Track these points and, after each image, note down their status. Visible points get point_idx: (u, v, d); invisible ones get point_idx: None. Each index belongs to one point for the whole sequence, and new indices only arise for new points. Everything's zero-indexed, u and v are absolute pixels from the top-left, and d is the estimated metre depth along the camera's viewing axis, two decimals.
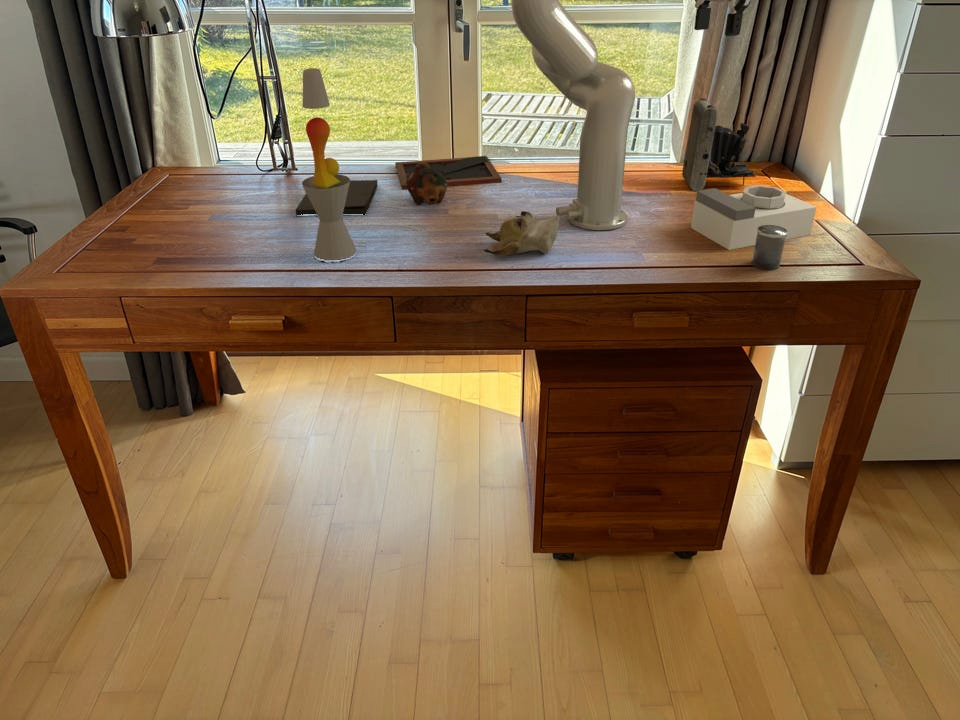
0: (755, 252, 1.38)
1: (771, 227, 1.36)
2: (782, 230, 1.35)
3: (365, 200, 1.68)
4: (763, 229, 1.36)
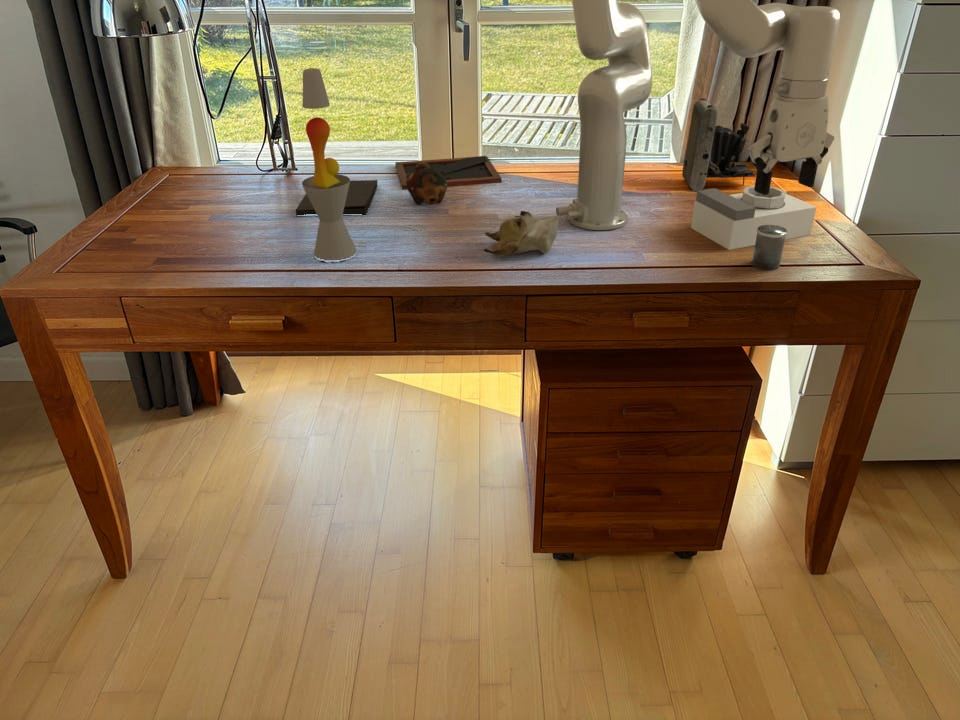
0: (755, 252, 1.38)
1: (771, 227, 1.36)
2: (782, 230, 1.35)
3: (365, 200, 1.68)
4: (762, 229, 1.36)
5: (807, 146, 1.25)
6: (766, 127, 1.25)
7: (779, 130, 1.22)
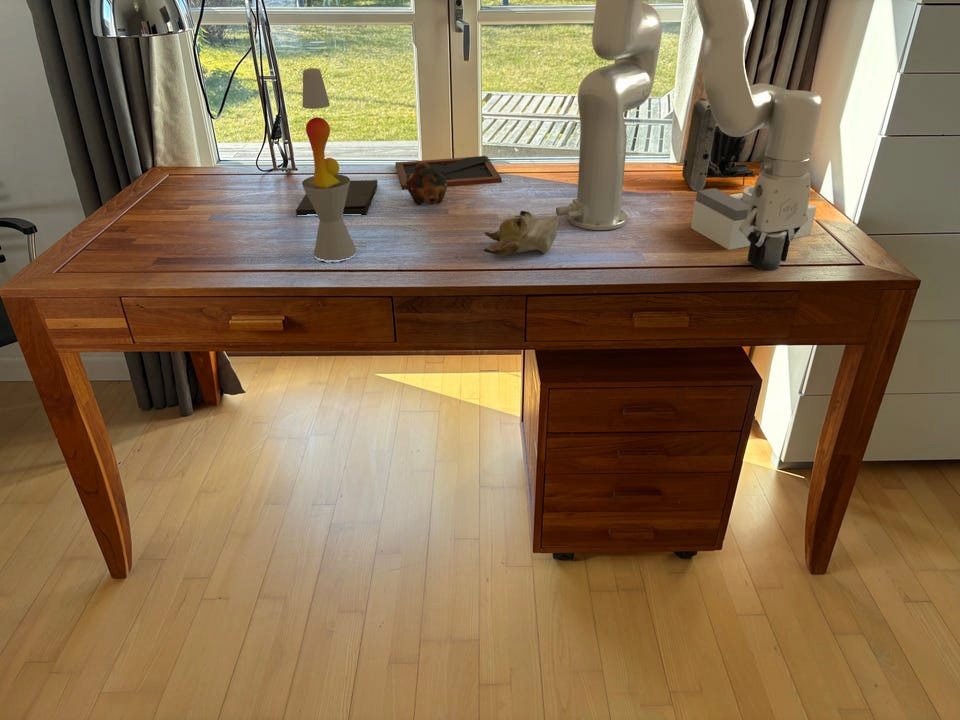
0: None
1: None
2: None
3: (365, 200, 1.68)
4: None
5: (790, 219, 1.32)
6: (751, 200, 1.32)
7: (763, 204, 1.29)
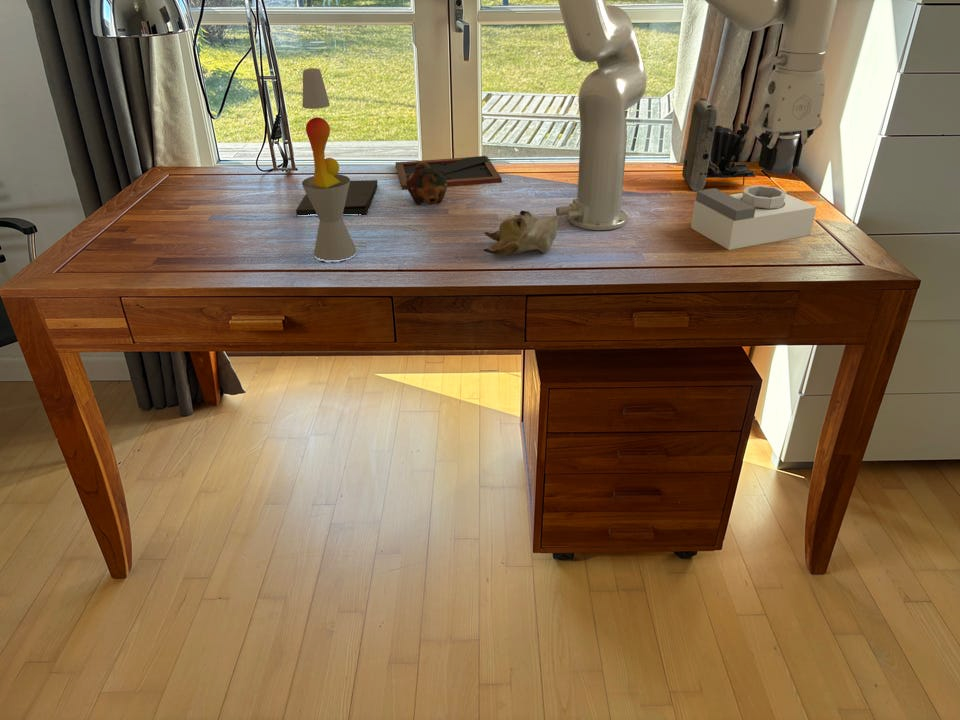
0: None
1: None
2: (795, 132, 1.32)
3: (365, 200, 1.68)
4: None
5: (803, 118, 1.29)
6: (764, 99, 1.29)
7: (776, 101, 1.26)
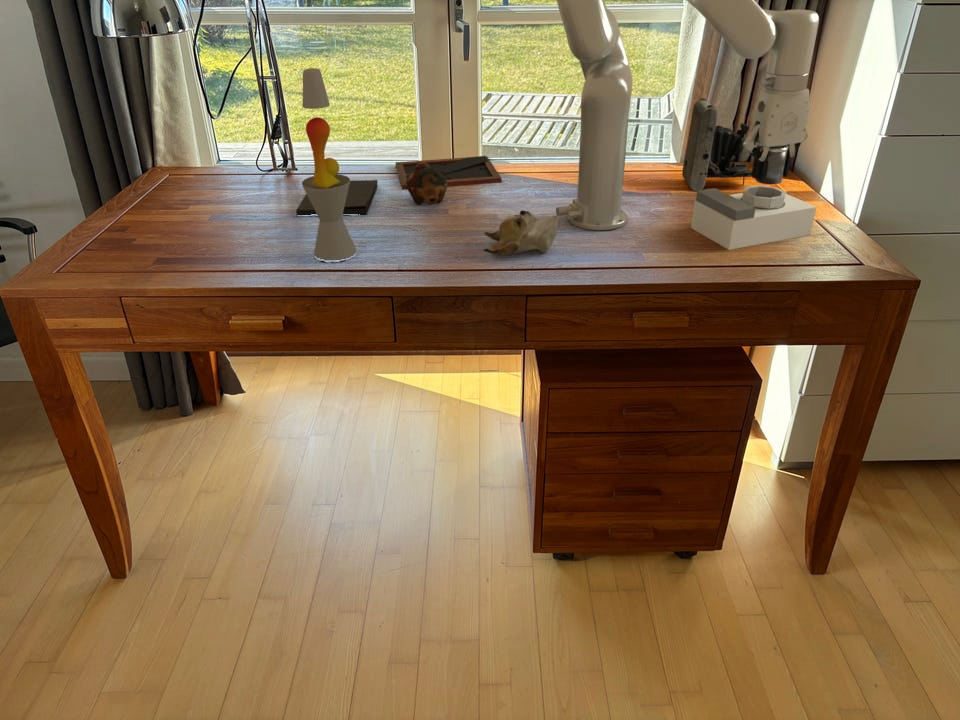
0: None
1: None
2: (783, 145, 1.44)
3: (366, 200, 1.68)
4: None
5: (790, 133, 1.41)
6: (754, 116, 1.41)
7: (765, 119, 1.39)
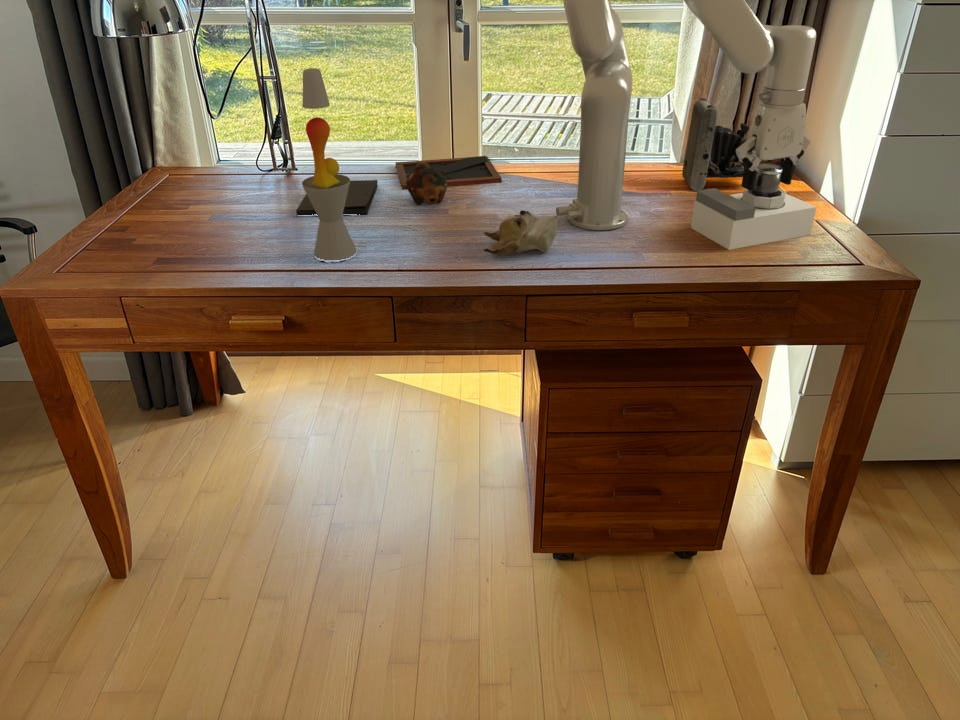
0: None
1: (768, 165, 1.48)
2: (778, 168, 1.47)
3: (366, 200, 1.68)
4: (760, 167, 1.47)
5: (787, 147, 1.43)
6: (751, 130, 1.43)
7: (762, 133, 1.40)
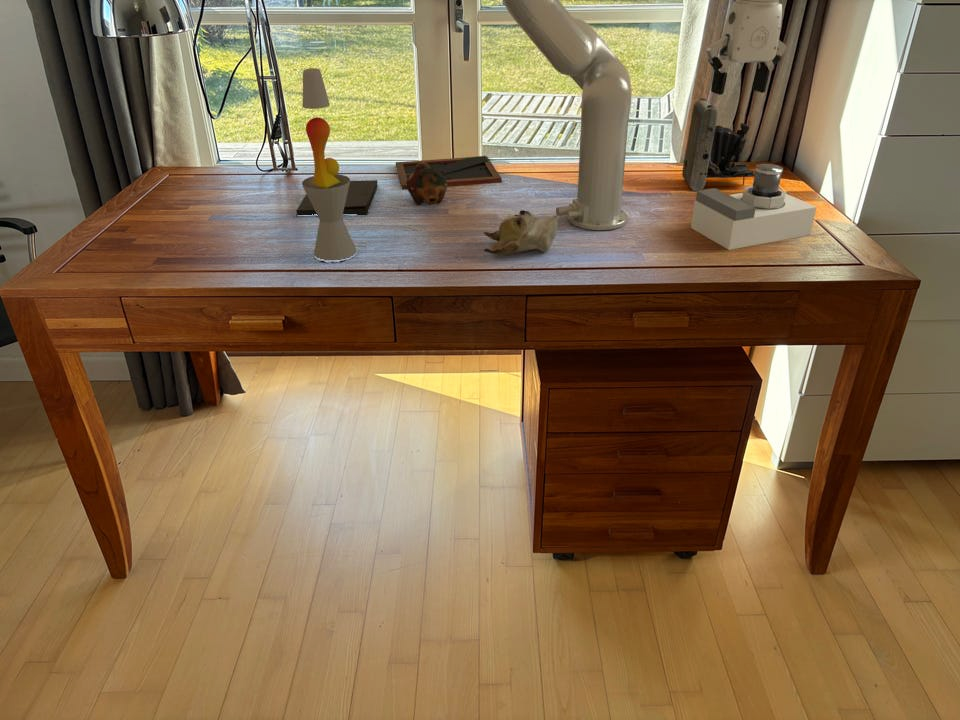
0: (753, 189, 1.49)
1: (768, 165, 1.48)
2: (778, 168, 1.47)
3: (366, 200, 1.68)
4: (760, 167, 1.47)
5: (760, 50, 1.36)
6: (724, 29, 1.36)
7: (735, 31, 1.34)
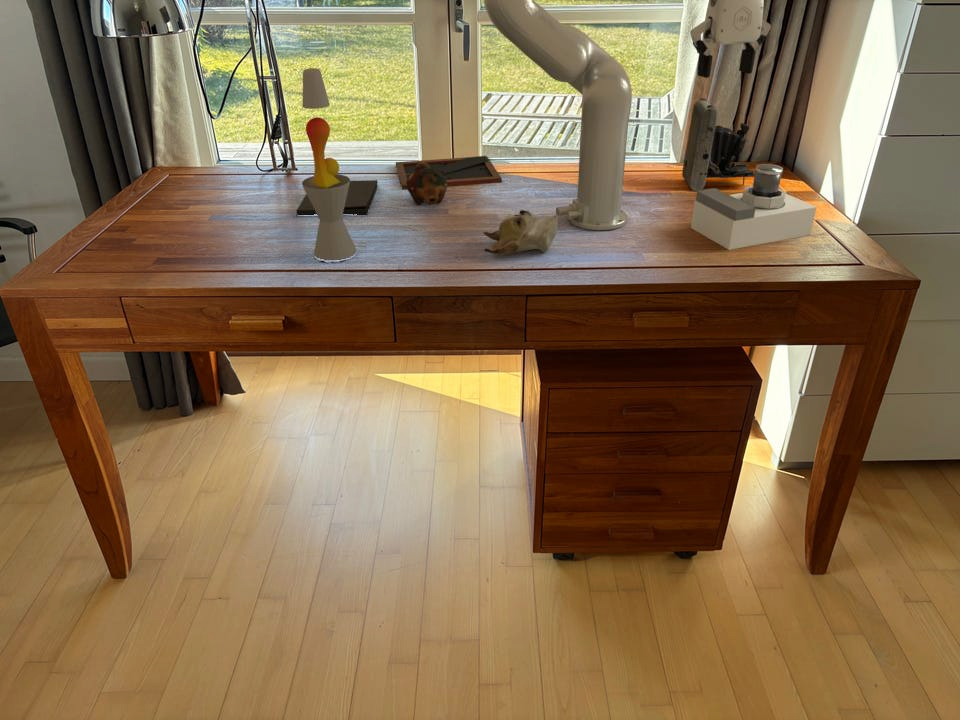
0: (753, 189, 1.49)
1: (768, 165, 1.48)
2: (778, 168, 1.47)
3: (366, 200, 1.68)
4: (760, 167, 1.47)
5: (744, 30, 1.36)
6: (707, 12, 1.36)
7: (718, 13, 1.34)
